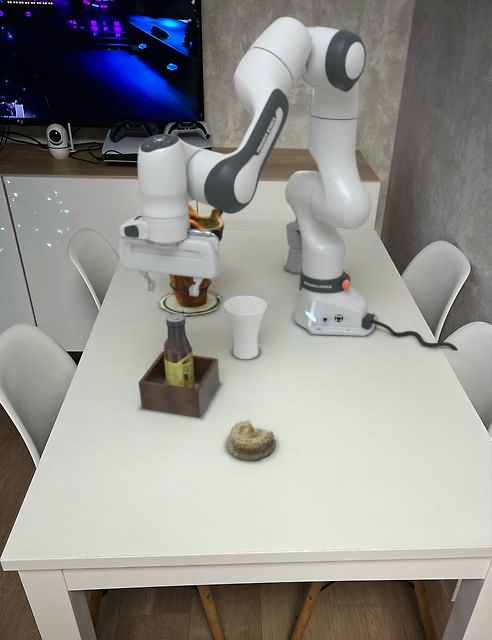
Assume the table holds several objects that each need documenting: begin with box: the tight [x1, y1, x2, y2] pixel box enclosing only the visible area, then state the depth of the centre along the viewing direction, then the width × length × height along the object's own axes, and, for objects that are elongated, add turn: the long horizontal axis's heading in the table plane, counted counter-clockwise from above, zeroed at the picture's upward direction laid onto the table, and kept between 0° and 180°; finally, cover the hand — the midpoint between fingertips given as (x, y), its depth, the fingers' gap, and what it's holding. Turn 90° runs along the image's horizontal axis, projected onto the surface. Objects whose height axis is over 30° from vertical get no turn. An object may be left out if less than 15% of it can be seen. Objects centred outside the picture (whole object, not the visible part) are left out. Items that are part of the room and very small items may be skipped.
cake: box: [226, 419, 277, 462], centre depth 123 cm, size 10×10×5 cm
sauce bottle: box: [163, 313, 196, 389], centre depth 134 cm, size 7×6×20 cm
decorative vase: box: [159, 203, 225, 317], centre depth 171 cm, size 21×23×28 cm
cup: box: [223, 295, 268, 360], centre depth 151 cm, size 10×10×14 cm
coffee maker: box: [285, 218, 302, 275], centre depth 196 cm, size 15×9×18 cm, turn 179°
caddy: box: [138, 350, 220, 418], centre depth 137 cm, size 14×14×7 cm
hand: (172, 292), depth 125 cm, fingers open, 8 cm apart
